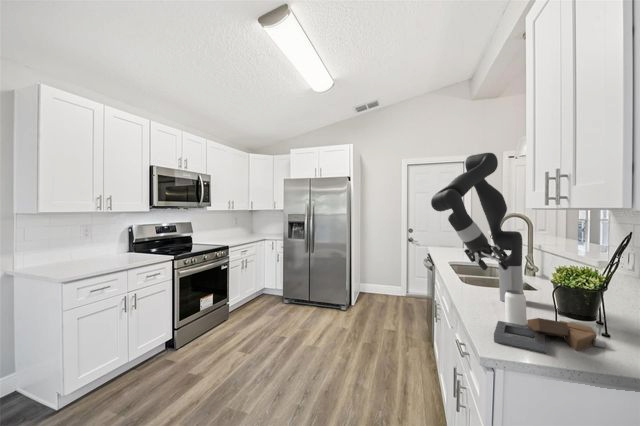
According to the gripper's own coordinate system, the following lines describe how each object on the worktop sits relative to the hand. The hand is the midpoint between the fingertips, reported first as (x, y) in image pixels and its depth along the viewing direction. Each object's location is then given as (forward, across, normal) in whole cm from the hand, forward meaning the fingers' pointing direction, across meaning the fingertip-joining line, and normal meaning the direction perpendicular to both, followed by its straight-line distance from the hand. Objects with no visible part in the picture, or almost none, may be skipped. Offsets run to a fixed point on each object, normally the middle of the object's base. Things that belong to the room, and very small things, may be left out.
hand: (495, 268), depth 103 cm
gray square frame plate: (+15, -8, +17) cm, 24 cm away
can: (+21, +1, +7) cm, 22 cm away
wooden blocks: (+24, -14, +9) cm, 29 cm away
